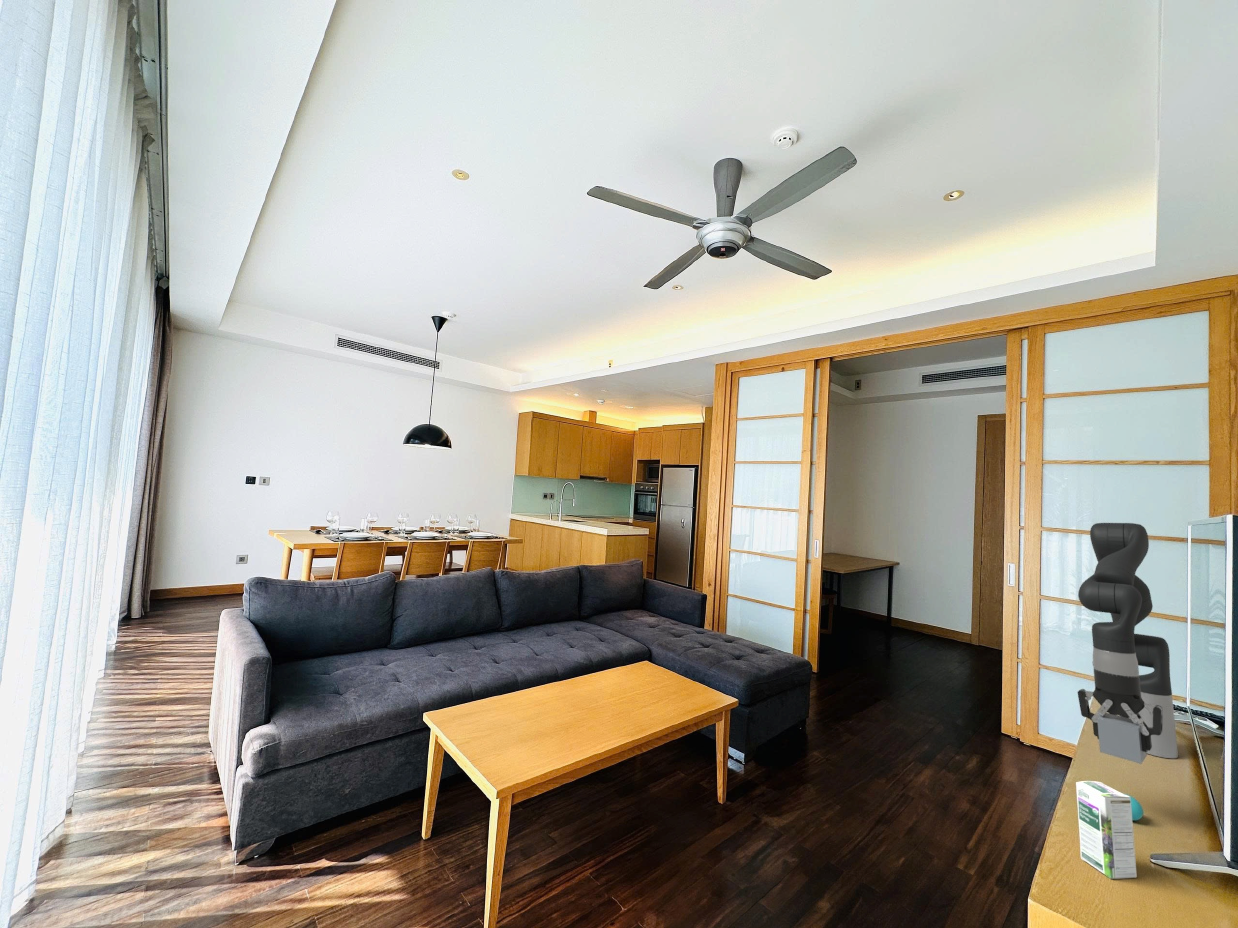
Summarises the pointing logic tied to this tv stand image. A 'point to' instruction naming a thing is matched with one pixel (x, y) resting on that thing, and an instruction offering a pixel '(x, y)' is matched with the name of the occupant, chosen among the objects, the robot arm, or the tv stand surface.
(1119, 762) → the tv stand surface
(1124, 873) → the syrup box
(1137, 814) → the ball
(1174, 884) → the tv stand surface
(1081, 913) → the tv stand surface
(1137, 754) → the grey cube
